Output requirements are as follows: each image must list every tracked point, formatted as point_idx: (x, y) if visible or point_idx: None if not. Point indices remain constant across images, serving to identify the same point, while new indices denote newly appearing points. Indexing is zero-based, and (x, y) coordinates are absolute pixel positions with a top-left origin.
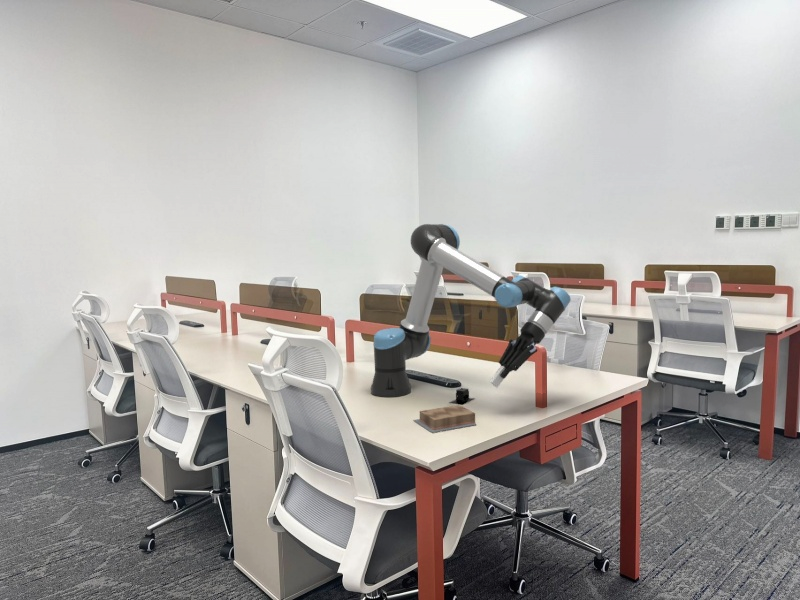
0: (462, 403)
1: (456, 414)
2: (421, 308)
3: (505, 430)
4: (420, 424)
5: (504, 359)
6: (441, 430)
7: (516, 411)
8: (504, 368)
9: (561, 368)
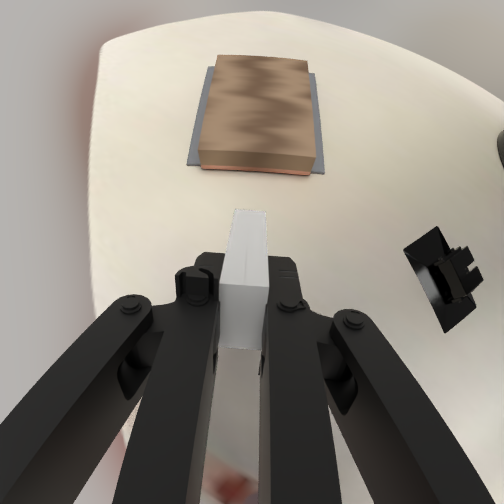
0: (414, 257)
1: (221, 103)
2: None
3: (99, 210)
4: None
5: (316, 351)
6: (205, 81)
7: (232, 378)
8: (221, 290)
9: None
